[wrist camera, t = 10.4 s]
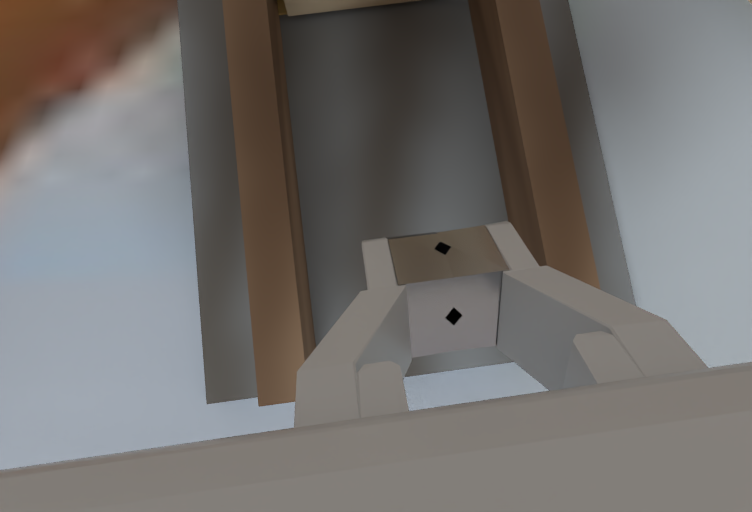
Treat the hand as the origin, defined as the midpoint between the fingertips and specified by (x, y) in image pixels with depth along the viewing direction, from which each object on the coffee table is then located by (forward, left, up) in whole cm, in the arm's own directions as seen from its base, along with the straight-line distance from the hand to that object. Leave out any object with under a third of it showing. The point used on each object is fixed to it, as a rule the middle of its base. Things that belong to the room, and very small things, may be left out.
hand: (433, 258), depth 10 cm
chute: (0, +9, -9) cm, 13 cm away
